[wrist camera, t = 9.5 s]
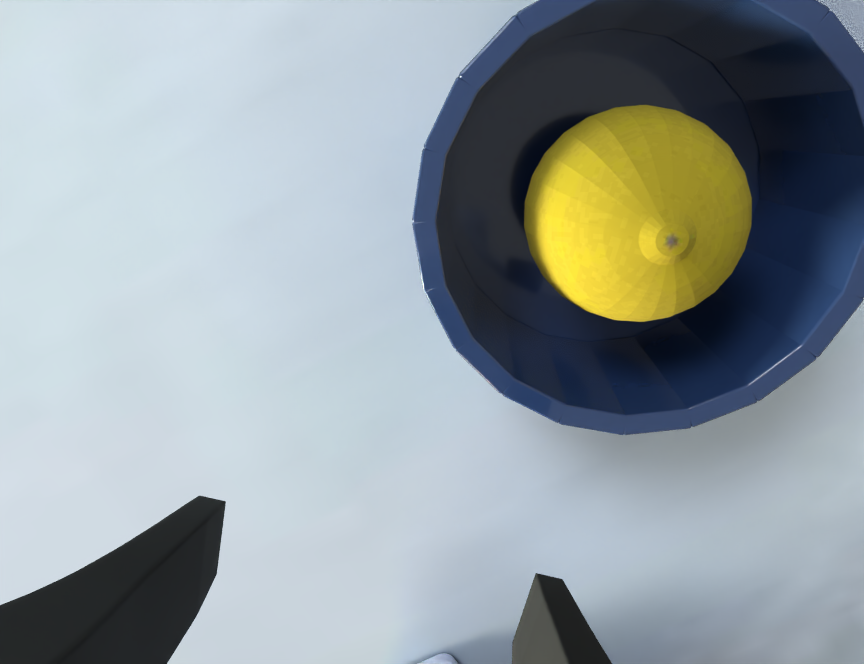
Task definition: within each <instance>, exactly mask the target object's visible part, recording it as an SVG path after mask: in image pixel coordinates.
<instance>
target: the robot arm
mask: <svg viewBox="0 0 864 664" xmlns="http://www.w3.org/2000/svg"><path fill="white" fill-rule="evenodd" d="M225 503H226V502H225V501H221V500H217V499H212V498H208V497H204V496H198V497H196V498H195V499H193V500H192V501H190V502H188V503H187V504H185V505H184V506H182V507H181V508H179V509H178V510H176V511H175V512H173V513H172V514H170V515H169V516H167V517H166V518H164V519H163V520H161V521H160V522H158V523H157V524H155V525H154V526H152V527H151V528H149V529H148V530H146V531H144V532H143V533H141V534H140V535H138V536H136V537H135V538H133V539H132V540H130V541H128V542H127V543H125V544H124V545H122V546H120V547H119V548H117V549H115V550H114V551H112V552H110V553H108V554H107V555H105V556H103V557H101V558H99V559H98V560H96V561H94V562H92V563H91V564H89V565H87V566H85V567H84V568H82V569H80V570H78V571H76V572H74V573H72V574H70V575H68V576H66V577H64V578H62V579H60V580H58V581H56V582H54V583H52V584H49V585H47V586H45V587H43V588H41V589H39V590H36V591H34V592H32V593H30V594H27V595H25V596H22V597H20V598H17V599H15V600H12V601H10V602H7V603H5V604H2V605H0V664H167V662H168V661H169V659H170V658H171V656H172V654H173V653H174V651H175V650H176V648H177V646H178V645H179V643H180V642H181V640H182V638H183V637H184V635H185V634H186V632H187V630H188V629H189V627H190V626H191V624H192V622H193V621H194V619H195V618H196V616H197V614H198V612H199V610H200V608H201V606H202V604H203V602H204V600H205V598H206V596H207V593H208V591H209V589H210V587H211V585H212V583H213V581H214V578H215V576H216V574H217V567H218V559H219V551H220V543H221V535H222V527H223V519H224V511H225ZM418 664H458V663H457V662H456V660H455V659H454V658H453V657H452V656H451V655H449V654H446V653H441V654H438V655H436V656H433V657H431V658H429V659H427V660H424V661H422V662H420V663H418ZM512 664H612V663H611V661H610V659H609V658H608V656H607V655H606V653H605V651H604V650H603V648H602V647H601V645H600V643H599V642H598V640H597V639H596V637H595V635H594V633H593V632H592V630H591V628H590V627H589V625H588V623H587V622H586V620H585V618H584V616H583V615H582V613H581V611H580V609H579V608H578V606H577V604H576V602H575V601H574V599H573V597H572V595H571V593H570V592H569V590H568V588H567V587H566V585H565V583H564V581H563V580H562V579H559V578H554V577H550V576H546V575H541V574H537V573H536V574H535V577H534V580H533V583H532V586H531V589H530V592H529V595H528V598H527V601H526V604H525V607H524V610H523V613H522V616H521V619H520V622H519V625H518V628H517V631H516V634H515V637H514V640H513V646H512Z"/></svg>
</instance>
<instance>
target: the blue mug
mask: <svg viewBox="0 0 864 664" xmlns="http://www.w3.org/2000/svg"><path fill="white" fill-rule="evenodd" d="M829 10H830V9H829V8H828V7H827V6H825V5H823V4H822V3H820V2H818V1H817V0H538V1H536V2H534V3H533V4H531V5H529V6H527V7H526V8H524V9H522V10H520V11H519V12H518V13H517V14H516V15H514V16H512V17H511V18H510V19H509V21H508V22H507V23H506V24H505V25H504V26H503V27H502V28H501V29H500V30H499V31H498V32H497V33H496V35H495V36H494V37H493V38H492V39H491V40H490V41H489V42H488V43H487V44H486V45H485V46H484V47H483V49H482V50H481V51H480V52H479V53H478V54H477V55H476V56H475V57H474V58H473V59H472V60H471V61H470V63H469V64H468V65H467V66H466V67H465V68H464V69H463V70H462V71H461V72H460V74H459V77H457V78H456V80H455V82H454V84H453V86H452V88H451V90H450V92H449V94H448V96H447V98H446V101H445V103H444V105H443V107H442V109H441V111H440V113H439V115H438V117H437V119H436V121H435V123H434V126H433V128H432V130H431V132H430V134H429V136H428V138H427V140H426V142H425V144H424V149H423V150H422V156H421V163H420V170H419V177H418V184H417V191H416V198H415V205H414V212H413V219H412V220H413V224H412V225H413V231H414V237H415V243H416V249H417V255H418V261H419V267H420V272H421V278H422V284H423V289H424V290H425V294H426V296H427V298H428V300H429V302H430V304H431V306H432V308H433V310H434V311H435V313H436V315H437V317H438V319H439V321H440V323H441V325H442V327H443V329H444V330H445V332H446V334H447V336H448V338H449V340H450V342H451V344H452V346H453V347H454V348H455V349H456V352H458V353H459V354H460V355H461V356H462V357H463V358H464V359H465V360H466V361H467V362H468V363H469V364H470V365H471V366H472V367H473V368H474V369H475V370H476V371H477V372H478V373H479V374H480V375H481V376H482V377H483V378H484V379H485V380H486V381H487V382H488V383H489V384H490V385H491V386H493V387H494V388H495V389H496V390H497V391H498V392H499V393H502V395H503V396H505V397H507V398H509V399H511V400H513V401H515V402H517V403H519V404H521V405H523V406H525V407H527V408H529V409H531V410H533V411H535V412H537V413H539V414H541V415H543V416H545V417H547V418H549V419H551V420H553V421H555V422H557V423H558V422H559V424H562V425H568V426H574V427H579V428H585V429H591V430H597V431H602V432H608V433H614V434H620V435H623V434H624V435H630V434H639V433H649V432H658V431H668V430H677V429H687V428H691V426H692V427H695V426H697V425H700V424H703V423H705V422H708V421H710V420H713V419H715V418H718V417H721V416H723V415H726V414H728V413H731V412H733V411H736V410H739V409H741V408H744V407H746V406H749V405H751V404H754V403H756V402H757V401H760V400H761V399H763V398H764V397H765V396H767V395H768V394H770V393H771V392H772V391H774V390H775V389H776V388H778V387H779V386H780V385H782V384H783V383H785V382H786V381H787V380H789V379H790V378H791V377H793V376H794V375H796V374H797V373H798V372H800V371H801V370H802V369H804V368H805V367H806V366H808V365H809V364H811V363H812V362H813V361H815V360H816V357H819V356H820V355H821V353H822V352H823V351H824V350H825V348H826V347H827V346H828V345H829V343H830V342H831V341H832V340H833V338H834V337H835V336H836V334H837V333H838V332H839V331H840V329H841V328H842V327H843V326H844V324H845V323H846V322H847V321H848V319H849V318H850V317H851V316H852V314H853V313H854V312H855V311H856V309H857V308H858V307H859V305H860V304H861V303H862V302H863V300H864V299H863V298H864V52H863V51H862V50H861V48H860V47H859V46H858V44H857V43H856V42H855V40H854V39H853V38H852V36H851V35H850V34H849V32H848V31H847V30H846V29H845V27H844V26H843V25H842V23H841V22H840V21H839V19H838V18H837V17H836V15H835V14H834V13H833V12H832V11H829ZM636 105H650V106H656V107H662V108H667V109H673V110H677V111H679V112H681V113H683V114H685V115H688V116H690V117H692V118H694V119H696V120H698V121H700V122H702V123H704V124H705V125H707V126H708V127H709V128H710V129H711V130H713V131H714V132H715V133H716V134H717V135H718V136H719V137H720V138H721V139H722V140H723V141H725V142H726V143H727V144H728V145H729V146H730V148H731V150H732V151H733V153H734V155H735V156H736V158H737V160H738V161H739V163H740V165H741V166H742V168H743V170H744V172H745V174H746V178H747V182H748V186H749V189H750V193H751V197H752V220H751V229H750V233H749V236H748V240H747V243H746V247H745V251H744V252H743V254H742V256H741V258H740V260H739V261H738V263H737V265H736V267H735V269H734V270H733V272H732V274H731V275H730V276H729V277H728V278H727V279H726V280H725V281H724V283H723V284H722V285H721V286H720V287H719V288H718V289H717V290H716V291H715V292H714V293H713V294H711V295H710V296H709V297H707V298H706V299H704V300H703V301H701V302H700V303H699V304H697V305H696V306H694V307H692V308H690V309H687V310H685V311H683V312H680V313H678V314H675V315H673V316H671V317H668V318H662V319H657V320H651V321H645V322H637V321H621V320H613V319H609V318H606V317H603V316H600V315H596V314H593V313H590V312H587V311H585V310H583V309H582V308H580V307H578V306H577V305H575V304H573V303H572V302H570V301H569V300H567V299H565V298H564V297H562V296H561V295H560V294H559V293H558V292H557V291H556V290H555V289H554V288H553V287H552V285H551V284H550V283H549V282H548V281H547V280H546V279H545V278H544V277H543V275H542V274H541V272H540V270H539V268H538V266H537V264H536V263H535V261H534V259H533V257H532V255H531V253H530V250H529V245H528V241H527V237H526V233H525V229H524V210H525V199H526V195H527V192H528V188H529V185H530V181H531V177H532V175H533V173H534V171H535V169H536V168H537V166H538V164H539V162H540V161H541V159H542V157H543V155H544V153H545V152H546V151H547V150H548V149H549V148H550V147H551V146H552V145H553V144H554V143H555V141H556V140H557V139H558V138H559V137H560V136H561V135H562V134H563V133H564V132H566V131H567V130H569V129H570V128H572V127H573V126H575V125H576V124H578V123H579V122H581V121H582V120H584V119H585V118H587V117H590V116H592V115H595V114H598V113H601V112H604V111H606V110H609V109H612V108H615V107H625V106H636Z"/></svg>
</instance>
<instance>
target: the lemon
mask: <svg viewBox="0 0 864 664" xmlns="http://www.w3.org/2000/svg"><path fill="white" fill-rule="evenodd" d="M751 220H752V197H751V193H750V189H749V186H748V182H747V178H746V174H745V172H744V170H743V168H742V166H741V165H740V163H739V161H738V160H737V158H736V156H735V155H734V153H733V151H732V150H731V148H730V146H729V145H728V144H727V143H726V142H725V141H723V140H722V139H721V138H720V137H719V136H718V135H717V134H716V133H715V132H714V131H713V130H711V129H710V128H709V127H708V126H707V125H705V124H704V123H702V122H700V121H698V120H696V119H694V118H692V117H690V116H688V115H685V114H683V113H681V112H679V111H677V110H673V109H667V108H662V107H656V106H650V105H636V106H625V107H615V108H612V109H609V110H606V111H604V112H601V113H598V114H595V115H592V116H590V117H587V118H585V119H584V120H582V121H581V122H579V123H578V124H576V125H575V126H573V127H572V128H570V129H569V130H567V131H566V132H564V133H563V134H562V135H561V136H560V137H559V138H558V139H557V140H556V141H555V143H554V144H553V145H552V146H551V147H550V148H549V149H548V150H547V151H546V152H545V153H544V155H543V157H542V159H541V161H540V162H539V164H538V166H537V168H536V169H535V171H534V173H533V175H532V177H531V181H530V185H529V188H528V192H527V195H526V199H525V210H524V229H525V233H526V237H527V241H528V245H529V250H530V253H531V255H532V257H533V259H534V261H535V263H536V264H537V266H538V268H539V270H540V272H541V274H542V275H543V277H544V278H545V279H546V280H547V281H548V282H549V283H550V284H551V285H552V287H553V288H554V289H555V290H556V291H557V292H558V293H559V294H560V295H561V296H562V297H564V298H565V299H567V300H569V301H570V302H572V303H573V304H575V305H577V306H578V307H580V308H582V309H583V310H585V311H587V312H590V313H593V314H596V315H600V316H603V317H606V318H609V319H613V320H621V321H637V322H645V321H651V320H657V319H662V318H668V317H671V316H673V315H675V314H678V313H680V312H683V311H685V310H687V309H690V308H692V307H694V306H696V305H697V304H699V303H700V302H701V301H703V300H704V299H706V298H707V297H709V296H710V295H711V294H713V293H714V292H715V291H716V290H717V289H718V288H719V287H720V286H721V285H722V284H723V283H724V281H725V280H726V279H727V278H728V277H729V276H730V275H731V274H732V272H733V270H734V269H735V267H736V265H737V263H738V261H739V260H740V258H741V256H742V254H743V252H744V251H745V247H746V243H747V240H748V236H749V233H750V229H751Z"/></svg>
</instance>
